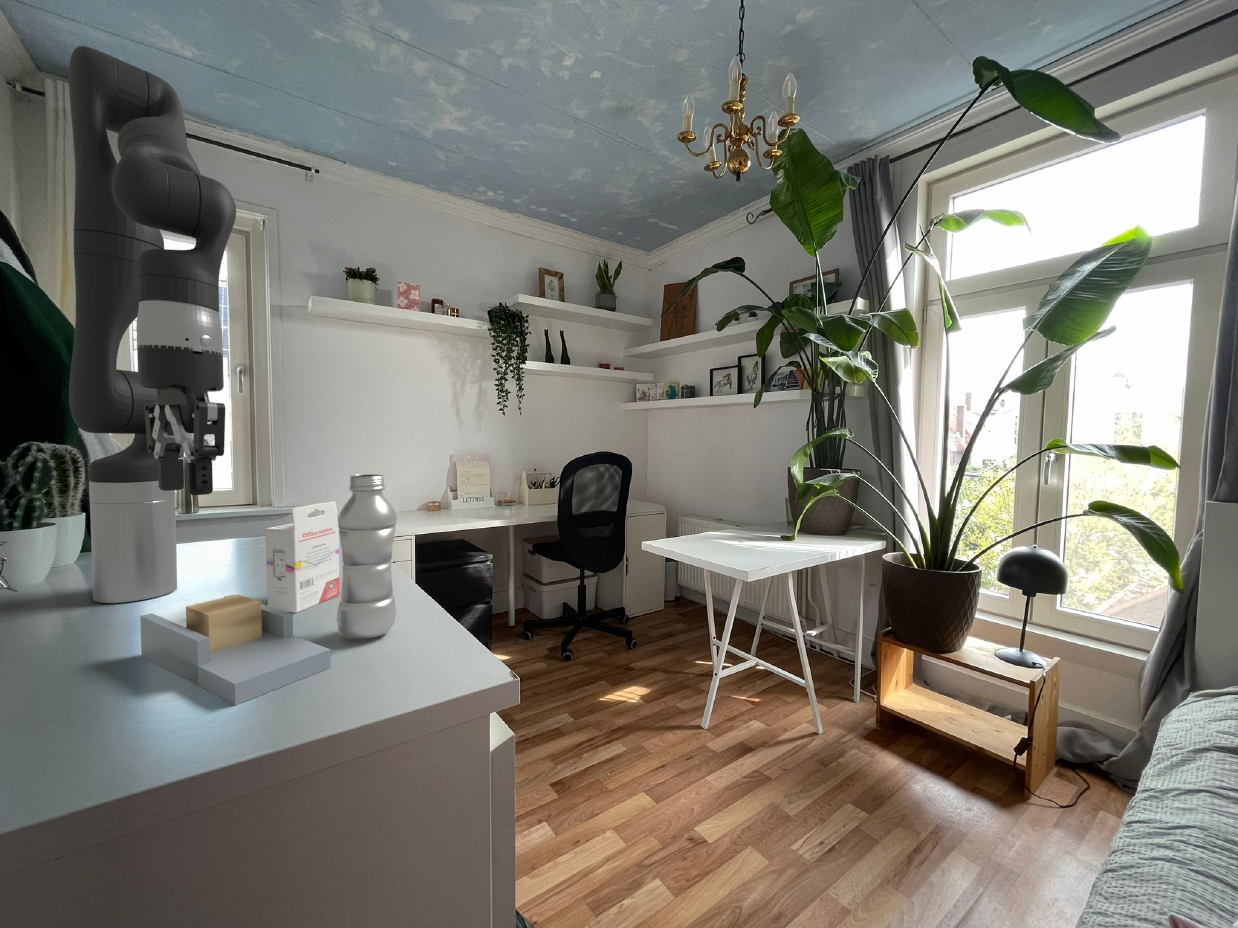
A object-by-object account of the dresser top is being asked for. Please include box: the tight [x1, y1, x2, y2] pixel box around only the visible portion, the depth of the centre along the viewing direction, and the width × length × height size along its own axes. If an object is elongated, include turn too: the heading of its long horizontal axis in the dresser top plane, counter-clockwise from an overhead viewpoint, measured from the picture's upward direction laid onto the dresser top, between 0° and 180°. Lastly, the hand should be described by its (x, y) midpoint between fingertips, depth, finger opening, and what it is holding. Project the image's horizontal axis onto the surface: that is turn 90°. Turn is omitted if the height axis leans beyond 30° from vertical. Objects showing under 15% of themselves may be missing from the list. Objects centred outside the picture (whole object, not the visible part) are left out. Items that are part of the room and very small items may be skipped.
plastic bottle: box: [336, 473, 398, 640], centre depth 63 cm, size 6×7×20 cm
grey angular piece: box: [139, 594, 331, 706], centre depth 56 cm, size 20×9×4 cm, turn 61°
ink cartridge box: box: [264, 500, 341, 614], centre depth 75 cm, size 9×5×15 cm, turn 168°
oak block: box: [185, 594, 262, 653], centre depth 57 cm, size 5×5×4 cm
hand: (185, 491), depth 60 cm, fingers open, 6 cm apart
